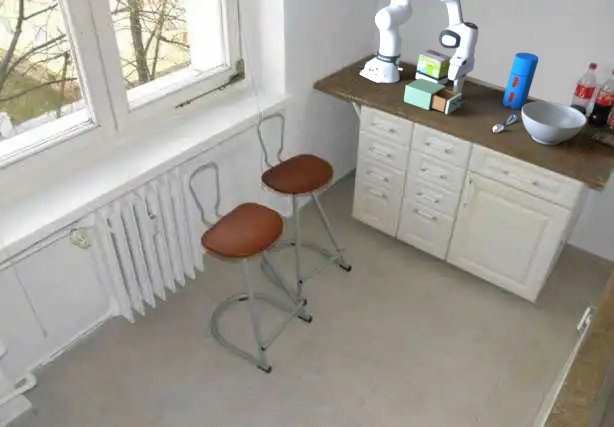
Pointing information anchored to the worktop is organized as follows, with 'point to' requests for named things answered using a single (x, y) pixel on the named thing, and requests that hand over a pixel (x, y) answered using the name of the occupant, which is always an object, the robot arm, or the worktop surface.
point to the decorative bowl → (552, 121)
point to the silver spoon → (501, 126)
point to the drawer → (446, 101)
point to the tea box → (433, 67)
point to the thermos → (520, 80)
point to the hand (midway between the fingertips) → (458, 83)
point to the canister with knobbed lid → (459, 85)
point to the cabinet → (421, 92)
